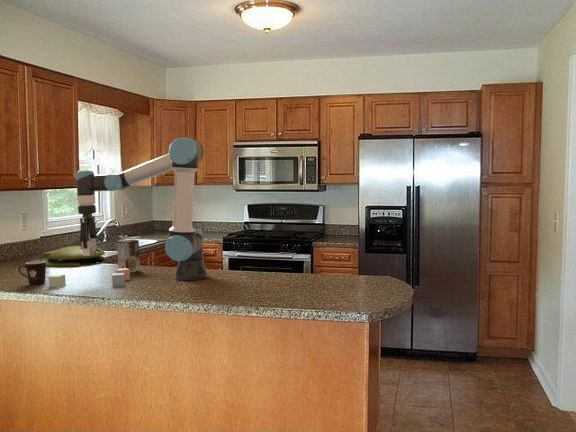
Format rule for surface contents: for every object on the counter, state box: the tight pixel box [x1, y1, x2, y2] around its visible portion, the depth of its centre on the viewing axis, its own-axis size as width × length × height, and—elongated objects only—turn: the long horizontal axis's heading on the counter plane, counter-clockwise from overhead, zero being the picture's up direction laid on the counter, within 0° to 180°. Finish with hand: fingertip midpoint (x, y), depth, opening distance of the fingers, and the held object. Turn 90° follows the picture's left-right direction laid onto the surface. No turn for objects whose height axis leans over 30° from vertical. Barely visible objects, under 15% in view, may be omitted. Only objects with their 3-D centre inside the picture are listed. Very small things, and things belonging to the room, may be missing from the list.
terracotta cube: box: [115, 268, 131, 281], centre depth 253 cm, size 5×5×5 cm
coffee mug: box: [17, 260, 47, 286], centre depth 246 cm, size 12×9×10 cm
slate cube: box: [111, 272, 125, 287], centre depth 240 cm, size 5×5×5 cm
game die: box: [78, 237, 100, 255], centre depth 244 cm, size 9×8×10 cm
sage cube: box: [48, 274, 67, 288], centre depth 239 cm, size 5×5×5 cm
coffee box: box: [116, 239, 141, 274], centre depth 273 cm, size 9×6×16 cm
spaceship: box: [36, 245, 106, 268], centre depth 309 cm, size 35×31×10 cm
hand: (89, 254), depth 244 cm, fingers closed on game die, 9 cm apart
